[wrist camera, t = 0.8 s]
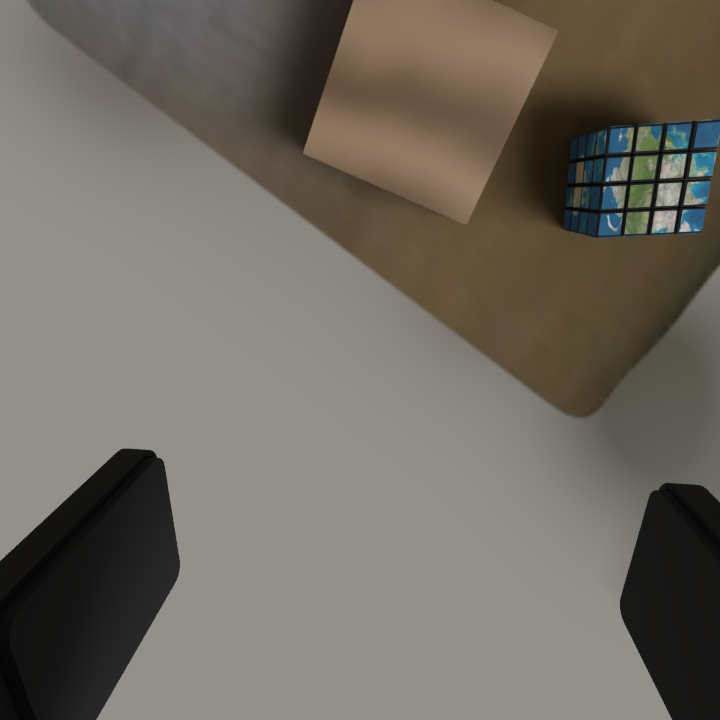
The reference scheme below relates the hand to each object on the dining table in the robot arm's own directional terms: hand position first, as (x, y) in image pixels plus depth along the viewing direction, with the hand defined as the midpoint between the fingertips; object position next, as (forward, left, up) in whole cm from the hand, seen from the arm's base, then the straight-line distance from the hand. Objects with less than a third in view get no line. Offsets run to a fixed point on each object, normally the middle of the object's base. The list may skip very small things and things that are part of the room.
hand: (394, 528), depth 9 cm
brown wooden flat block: (-11, -4, -28) cm, 30 cm away
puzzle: (-12, +10, -28) cm, 32 cm away
